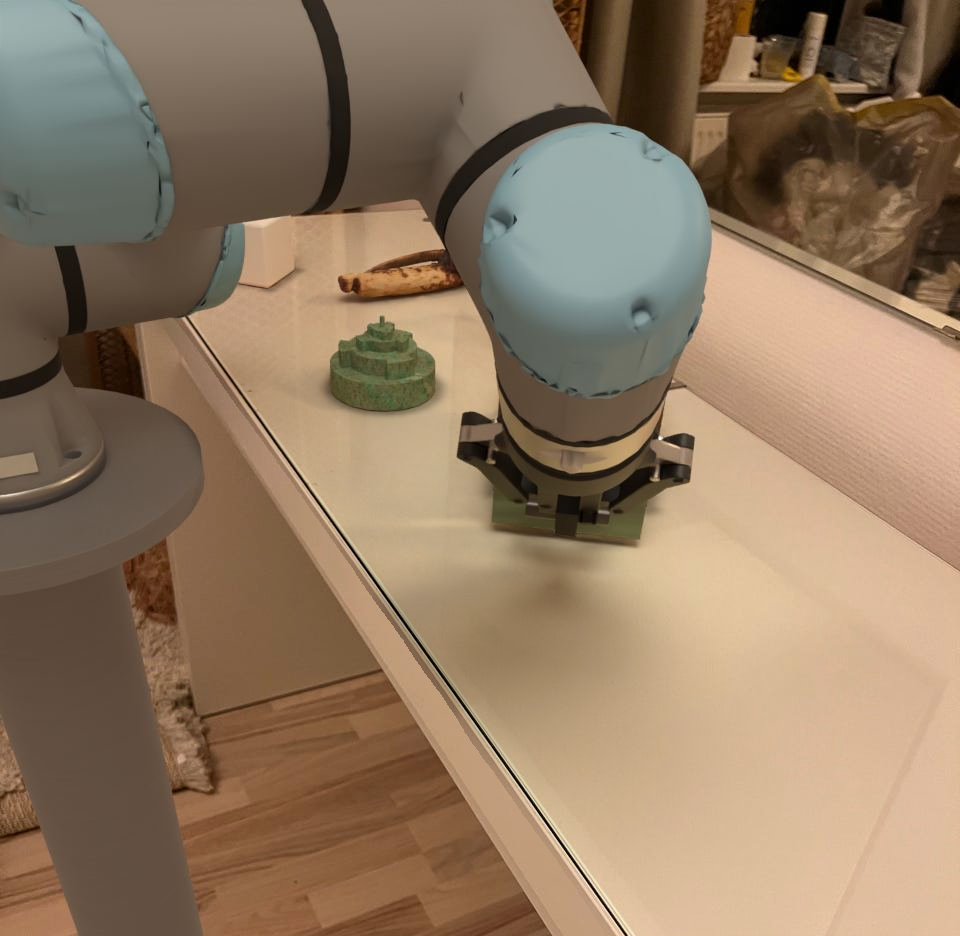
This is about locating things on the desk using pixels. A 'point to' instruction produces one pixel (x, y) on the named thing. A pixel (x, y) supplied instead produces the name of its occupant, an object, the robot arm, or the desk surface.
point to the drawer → (605, 526)
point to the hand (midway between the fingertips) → (567, 517)
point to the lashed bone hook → (404, 276)
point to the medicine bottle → (267, 251)
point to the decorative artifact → (382, 370)
